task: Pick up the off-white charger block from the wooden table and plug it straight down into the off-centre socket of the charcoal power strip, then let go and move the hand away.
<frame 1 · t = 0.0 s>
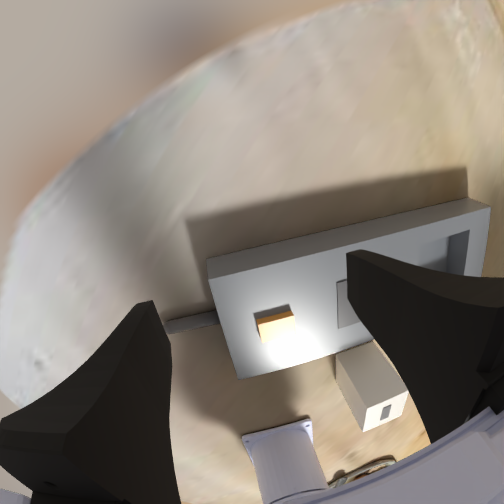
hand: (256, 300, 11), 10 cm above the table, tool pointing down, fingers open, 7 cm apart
charger: (354, 361, 28), on the table
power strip: (366, 273, 24), on the table
salad plate: (356, 480, 45), on the table
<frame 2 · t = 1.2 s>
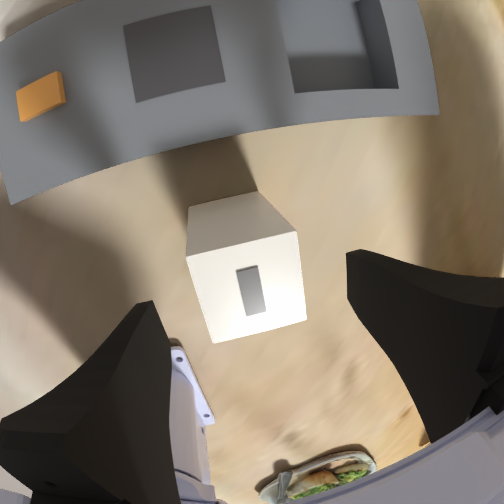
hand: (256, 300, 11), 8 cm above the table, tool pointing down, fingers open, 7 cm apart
charger: (230, 231, 18), on the table
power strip: (213, 56, 14), on the table
salad plate: (316, 478, 35), on the table
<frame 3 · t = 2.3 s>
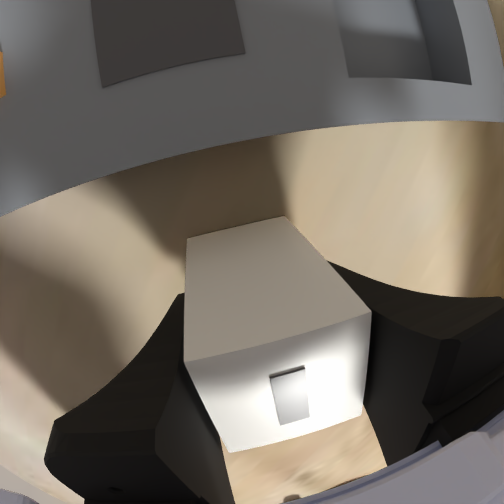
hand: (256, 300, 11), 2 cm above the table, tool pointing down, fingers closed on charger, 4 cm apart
charger: (245, 270, 13), on the table, touching gripper
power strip: (223, 25, 9), on the table
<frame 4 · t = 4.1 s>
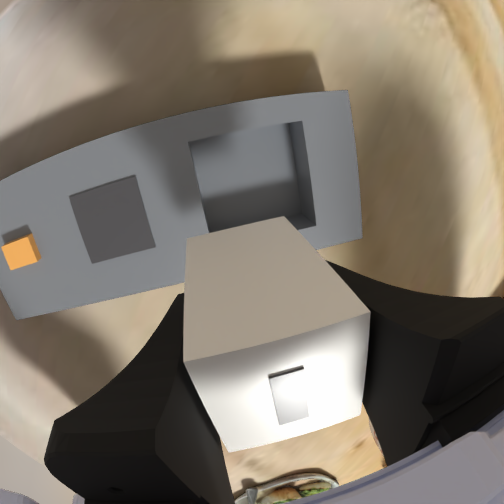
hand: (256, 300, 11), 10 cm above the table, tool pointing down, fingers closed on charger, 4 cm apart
charger: (245, 270, 13), point 7 cm above the table, touching gripper
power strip: (152, 199, 18), on the table
salad plate: (284, 492, 40), on the table
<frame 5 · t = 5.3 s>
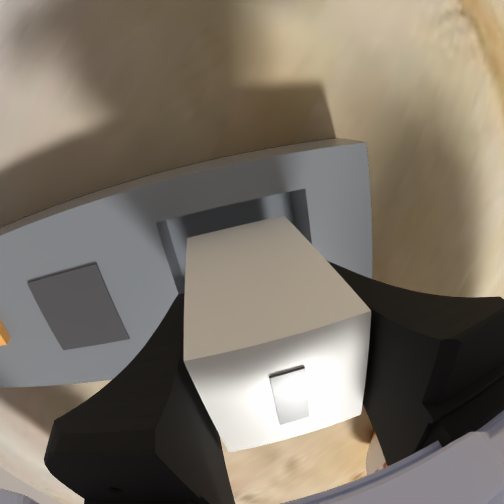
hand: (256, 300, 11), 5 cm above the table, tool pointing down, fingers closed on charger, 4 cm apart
charger: (245, 270, 13), point 3 cm above the table, touching gripper
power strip: (125, 272, 15), on the table
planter: (404, 418, 28), on the table
when the fingers open (4 cm above the table, at t = 6.1 s): charger stays where it is, resting on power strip.
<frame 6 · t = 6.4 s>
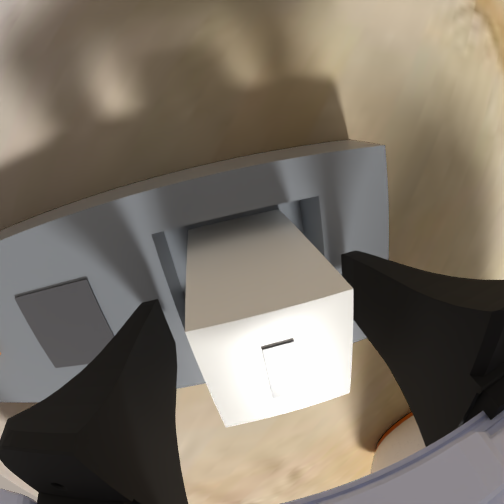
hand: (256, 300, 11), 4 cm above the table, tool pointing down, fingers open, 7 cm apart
charger: (242, 260, 14), resting on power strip
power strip: (120, 285, 14), on the table
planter: (410, 426, 26), on the table
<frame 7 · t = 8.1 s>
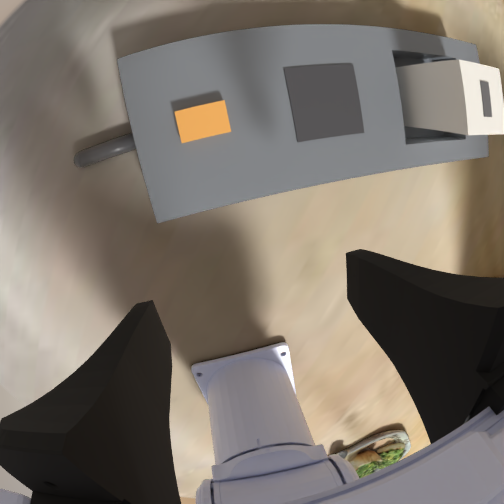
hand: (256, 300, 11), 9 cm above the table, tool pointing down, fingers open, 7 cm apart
charger: (411, 96, 17), resting on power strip
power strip: (335, 100, 17), on the table
salad plate: (359, 459, 39), on the table
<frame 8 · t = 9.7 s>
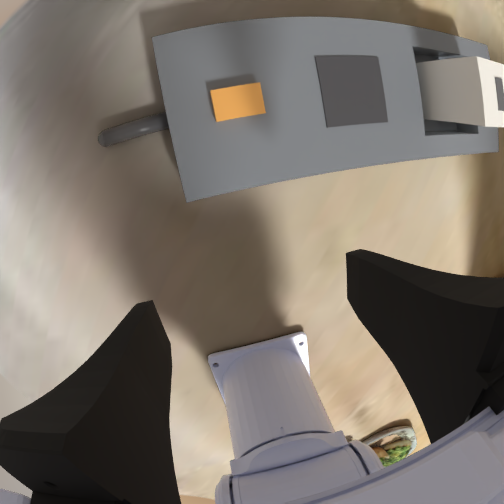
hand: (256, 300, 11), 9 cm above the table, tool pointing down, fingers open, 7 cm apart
charger: (428, 92, 17), resting on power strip
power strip: (358, 92, 17), on the table
salad plate: (366, 456, 39), on the table
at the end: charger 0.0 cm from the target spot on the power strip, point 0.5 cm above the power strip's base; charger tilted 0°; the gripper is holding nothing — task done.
